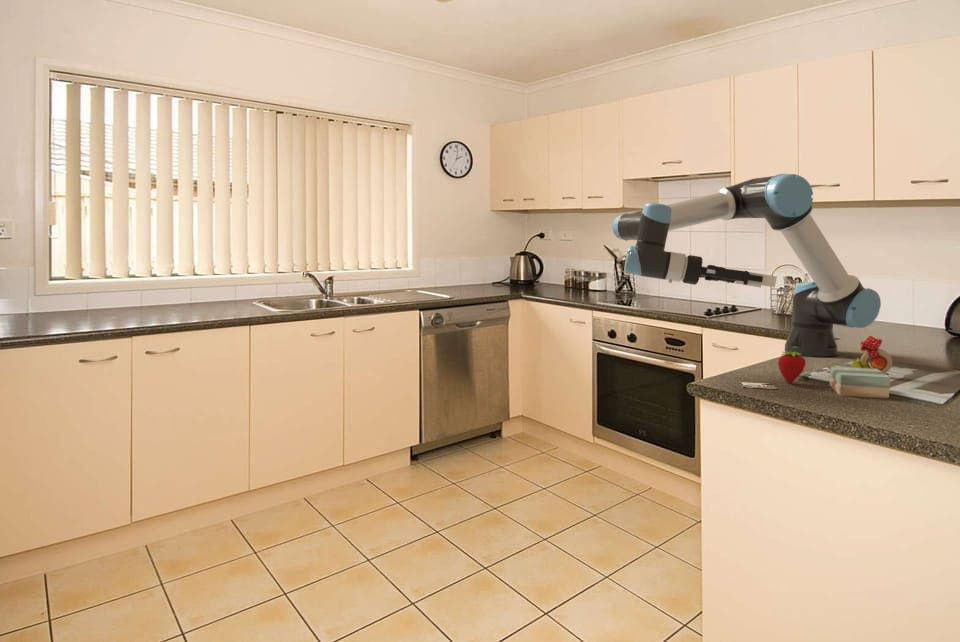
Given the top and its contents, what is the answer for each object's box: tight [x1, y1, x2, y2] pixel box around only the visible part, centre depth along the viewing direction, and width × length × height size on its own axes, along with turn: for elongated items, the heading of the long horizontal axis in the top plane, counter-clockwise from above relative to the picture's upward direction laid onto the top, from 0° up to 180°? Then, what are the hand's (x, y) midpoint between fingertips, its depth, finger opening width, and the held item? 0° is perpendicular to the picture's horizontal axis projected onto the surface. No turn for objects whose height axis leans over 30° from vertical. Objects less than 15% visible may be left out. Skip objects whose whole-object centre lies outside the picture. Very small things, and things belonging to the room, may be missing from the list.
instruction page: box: [740, 381, 767, 387], centre depth 154 cm, size 6×8×1 cm
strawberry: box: [777, 346, 806, 385], centre depth 156 cm, size 6×8×10 cm
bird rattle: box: [850, 335, 893, 374], centre depth 164 cm, size 6×11×9 cm
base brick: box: [829, 366, 891, 399], centre depth 148 cm, size 10×10×5 cm
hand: (768, 282), depth 158 cm, fingers open, 13 cm apart
